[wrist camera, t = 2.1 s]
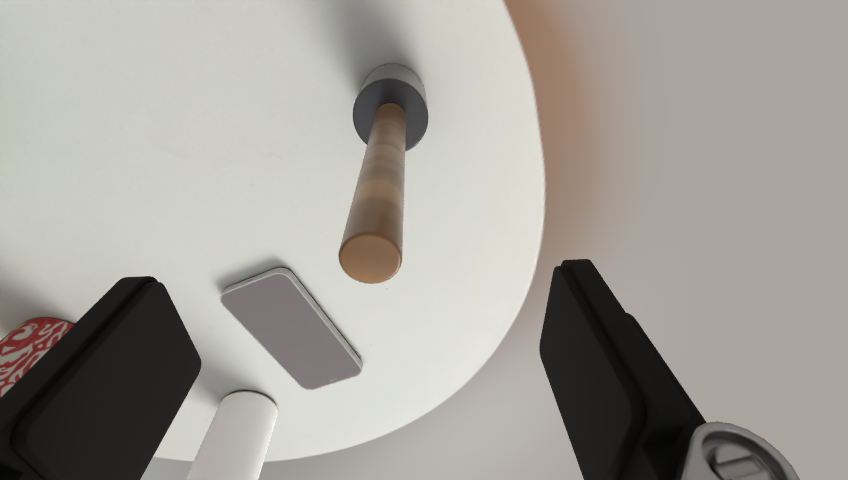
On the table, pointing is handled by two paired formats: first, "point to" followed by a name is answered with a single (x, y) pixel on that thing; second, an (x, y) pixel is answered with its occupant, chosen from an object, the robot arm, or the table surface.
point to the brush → (382, 171)
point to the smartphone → (292, 328)
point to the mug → (27, 348)
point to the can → (236, 439)
